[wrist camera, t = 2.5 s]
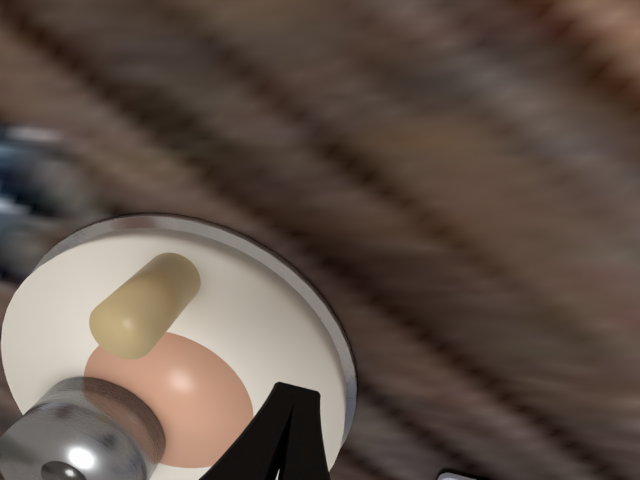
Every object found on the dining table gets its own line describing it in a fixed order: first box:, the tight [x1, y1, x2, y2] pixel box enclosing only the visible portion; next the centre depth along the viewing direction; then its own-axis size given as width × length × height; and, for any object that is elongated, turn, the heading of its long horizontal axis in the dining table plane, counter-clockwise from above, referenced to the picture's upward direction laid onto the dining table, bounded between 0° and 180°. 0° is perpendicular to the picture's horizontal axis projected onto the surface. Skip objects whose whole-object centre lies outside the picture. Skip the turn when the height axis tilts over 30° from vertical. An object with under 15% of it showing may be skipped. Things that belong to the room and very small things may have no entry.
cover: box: [0, 377, 166, 480], centre depth 21 cm, size 7×7×3 cm
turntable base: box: [32, 213, 357, 448], centre depth 23 cm, size 19×19×1 cm
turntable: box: [1, 228, 347, 480], centre depth 20 cm, size 18×18×6 cm
